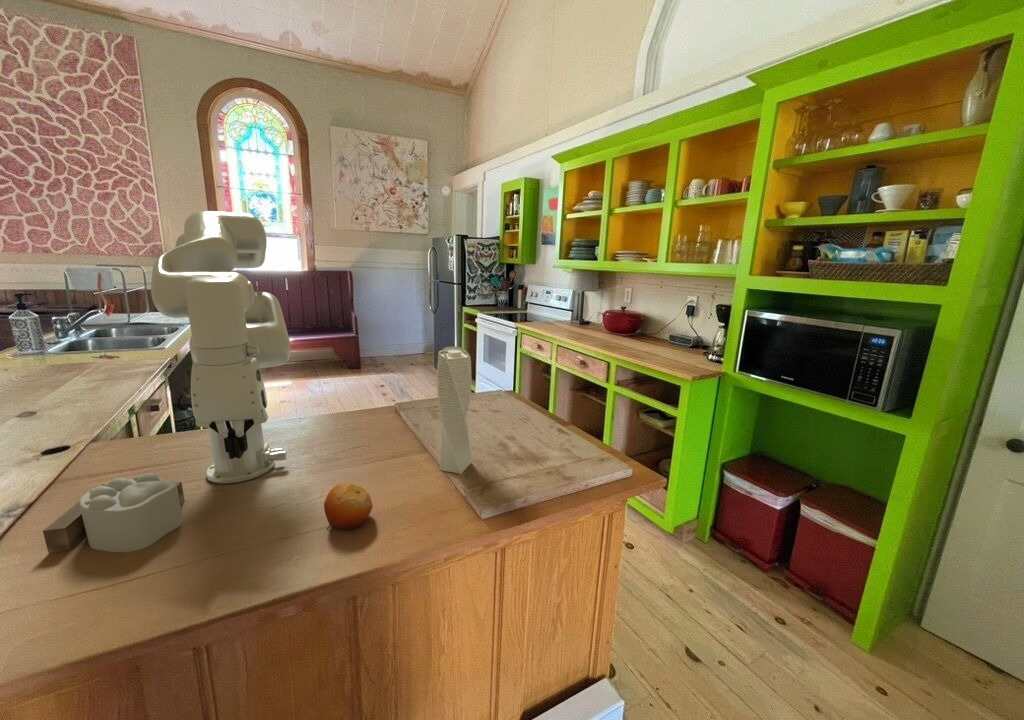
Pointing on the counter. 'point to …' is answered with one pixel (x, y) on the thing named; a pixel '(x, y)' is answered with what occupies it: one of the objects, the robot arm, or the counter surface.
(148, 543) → the lumpy-topped squat cylinder
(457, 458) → the skyscraper
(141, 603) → the counter surface
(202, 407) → the robot arm
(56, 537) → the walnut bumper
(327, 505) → the fruit
